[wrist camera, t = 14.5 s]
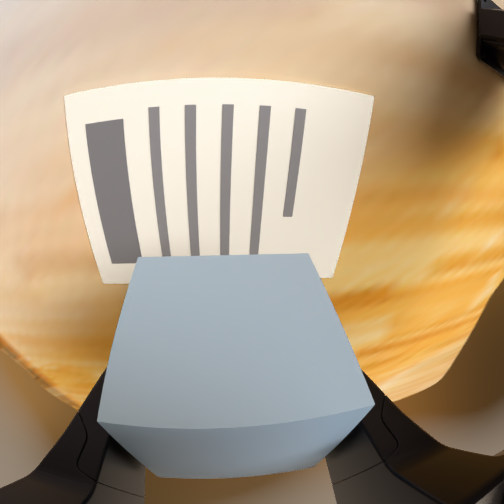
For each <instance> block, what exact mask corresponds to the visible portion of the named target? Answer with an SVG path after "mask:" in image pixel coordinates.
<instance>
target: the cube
mask: <svg viewBox="0 0 504 504" xmlns="http://www.w3.org/2000/svg"><path fill="white" fill-rule="evenodd" d="M374 405H375V403H374V400H373V398H372V395H371V393H370V390H369V388H368V385H367V383H366V380H365V378H364V375H363V373H362V370H361V368H360V366H359V363H358V361H357V359H356V356H355V354H354V352H353V349H352V347H351V345H350V342H349V340H348V338H347V335H346V333H345V331H344V329H343V326H342V324H341V322H340V320H339V317H338V315H337V313H336V311H335V309H334V306H333V304H332V302H331V300H330V298H329V295H328V293H327V291H326V289H325V287H324V285H323V283H322V281H321V278H320V276H319V274H318V272H317V270H316V268H315V266H314V264H313V262H312V260H311V258H310V256H309V254H308V253H299V254H256V255H212V256H165V257H138V259H137V262H136V265H135V268H134V271H133V274H132V277H131V280H130V283H129V287H128V290H127V293H126V296H125V300H124V303H123V307H122V310H121V314H120V317H119V321H118V325H117V328H116V332H115V336H114V340H113V344H112V348H111V352H110V357H109V361H108V366H107V370H106V375H105V380H104V385H103V390H102V395H101V400H100V406H99V412H98V418H97V422H98V423H99V424H100V425H101V426H102V427H103V428H104V429H105V430H106V431H107V432H108V433H109V434H110V435H111V436H112V437H113V438H114V439H115V440H116V441H117V442H118V443H119V444H120V445H121V446H122V447H124V448H125V449H126V450H127V451H128V452H129V453H130V454H131V455H132V456H134V457H135V458H136V459H137V460H138V461H139V462H141V463H142V464H143V465H144V466H145V467H146V468H148V469H149V470H150V471H152V472H153V473H154V474H155V475H156V476H158V477H167V478H192V479H193V478H194V479H209V478H210V479H211V478H236V477H249V476H259V475H268V474H275V473H283V472H289V471H295V470H301V469H306V468H311V467H314V466H316V465H317V463H319V462H320V461H321V460H322V459H323V458H324V457H325V456H326V455H328V454H329V453H330V452H331V451H332V450H333V449H334V448H335V447H336V446H337V445H338V444H339V443H340V442H341V441H342V440H343V439H344V438H345V437H346V436H347V435H348V434H349V433H350V432H351V431H352V430H353V429H354V428H355V426H356V425H357V424H358V423H359V422H360V421H361V420H362V419H363V418H364V417H365V415H366V414H367V413H368V412H369V411H370V410H371V409H372V407H373V406H374Z"/></svg>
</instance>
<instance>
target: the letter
mask: <svg viewBox="0 0 504 504" xmlns="http://www.w3.org/2000/svg"><path fill="white" fill-rule="evenodd" d="M64 99H65V111H66V122H67V131H68V139H69V146H70V153H71V159H72V165H73V171H74V176H75V181H76V186H77V191H78V196H79V200H80V205H81V209H82V213H83V217H84V221H85V225H86V229H87V233H88V236H89V240H90V243H91V247H92V250H93V253H94V257H95V260H96V263H97V266H98V269H99V272H100V275H101V278H102V281H103V284H129V283H130V280H131V277H132V274H133V271H134V268H135V265H136V262H137V259H138V257H165V256H212V255H256V254H299V253H308V254H309V256H310V258H311V260H312V262H313V264H314V266H315V268H316V270H317V272H318V274H319V276H320V278H331V277H333V275H334V271H335V268H336V265H337V261H338V258H339V254H340V251H341V247H342V244H343V240H344V237H345V233H346V229H347V225H348V222H349V218H350V214H351V210H352V206H353V202H354V198H355V194H356V189H357V185H358V181H359V176H360V172H361V167H362V162H363V157H364V153H365V148H366V142H367V137H368V132H369V126H370V121H371V115H372V109H373V102H374V96H372V95H367V94H363V93H358V92H353V91H348V90H343V89H338V88H332V87H326V86H320V85H313V84H305V83H297V82H288V81H278V80H266V79H249V78H184V79H168V80H155V81H145V82H137V83H129V84H122V85H115V86H109V87H103V88H97V89H92V90H87V91H82V92H78V93H73V94H69V95H65V96H64Z"/></svg>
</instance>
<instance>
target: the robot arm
mask: <svg viewBox="0 0 504 504" xmlns="http://www.w3.org/2000/svg"><path fill="white" fill-rule="evenodd" d="M477 1H478V33H477V51H476V56H477V58H478V60H479V61H480V62H482V63H483V64H485V65H486V66H488V67H489V68H491V69H492V70H493V71H495V72H496V73H498V74H499V75H500V76H502V77H503V78H504V10H502V9H501V8H500V7H498V6H497V5H496V4H495V3H494V2H493V1H491V0H477ZM106 370H107V368H106V369H105V371H104V372H103V374H102V375H101V377H100V378H99V380H98V381H97V383H96V384H95V386H94V387H93V389H92V390H91V392H90V393H89V395H88V396H87V398H86V399H85V401H84V403H83V404H82V406H81V407H80V409H79V412H77V413H76V415H75V417H74V418H73V420H72V421H71V423H70V424H69V426H68V427H67V429H66V430H65V432H64V434H63V435H62V436H61V437H60V438H59V440H58V441H57V442H56V444H55V445H54V446H53V448H52V449H51V450H50V451H49V453H48V454H47V455H46V457H45V458H44V459H43V460H42V462H41V463H40V464H39V465H38V467H37V468H36V469H35V470H34V471H33V472H31V473H30V474H29V475H27V476H26V477H24V478H22V479H20V480H17V481H15V482H13V483H11V484H9V485H7V486H4V487H2V488H0V504H144V492H145V466H144V465H143V464H142V463H141V462H139V461H138V460H137V459H136V458H135V457H134V456H132V455H131V454H130V453H129V452H128V451H127V450H126V449H125V448H124V447H122V446H121V445H120V444H119V443H118V442H117V441H116V440H115V439H114V438H113V437H112V436H111V435H110V434H109V433H108V432H107V431H106V430H105V429H104V428H103V427H102V426H101V425H100V424H99V423H98V422H97V418H98V412H99V406H100V400H101V395H102V390H103V385H104V380H105V375H106ZM361 370H362V369H361ZM362 373H363V375H364V378H365V380H366V383H367V385H368V388H369V390H370V393H371V395H372V398H373V400H374V403H375V405H374V406H373V407H372V409H371V410H370V411H369V412H368V413H367V414H366V415H365V417H364V418H363V419H362V420H361V421H360V422H359V423H358V424H357V425H356V426H355V428H354V429H353V430H352V431H351V432H350V433H349V434H348V435H347V436H346V437H345V438H344V439H343V440H342V441H341V442H340V443H339V444H338V445H337V446H336V447H335V448H334V449H333V450H332V451H331V452H330V453H329V454H328V455H326V456H325V458H326V462H327V466H328V469H329V473H330V478H331V481H332V484H333V485H332V486H333V489H334V494H335V498H336V501H337V504H504V450H503V451H501V452H499V453H497V454H496V455H494V456H489V455H483V454H478V453H472V452H468V451H464V450H459V449H455V448H451V447H448V446H445V445H443V444H441V443H440V442H438V441H437V440H435V439H434V438H433V437H431V436H430V435H429V434H428V433H427V432H426V431H424V430H423V429H422V428H421V427H419V426H418V425H417V424H416V423H414V422H413V421H412V420H411V419H410V418H409V417H408V416H406V415H405V414H404V413H403V412H402V411H401V410H400V409H399V408H398V407H397V406H396V405H395V404H394V403H393V402H392V401H391V400H390V399H389V398H388V397H387V396H386V395H385V394H384V393H383V392H382V391H381V389H380V388H379V387H378V386H377V385H376V384H375V383H374V382H373V381H372V380H371V379H370V378H369V377H368V376H367V375H366V374H365V373H364V372H363V371H362Z"/></svg>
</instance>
